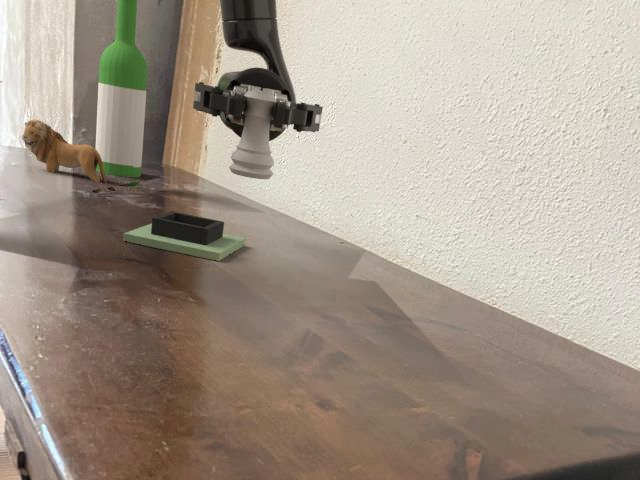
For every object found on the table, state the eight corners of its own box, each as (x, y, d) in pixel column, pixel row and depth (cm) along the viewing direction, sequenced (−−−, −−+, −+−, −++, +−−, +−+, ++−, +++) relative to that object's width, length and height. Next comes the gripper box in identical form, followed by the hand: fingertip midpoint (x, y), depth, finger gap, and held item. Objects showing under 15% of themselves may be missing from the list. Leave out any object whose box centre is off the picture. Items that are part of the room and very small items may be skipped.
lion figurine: (16, 179, 116) (16, 117, 112) (29, 176, 120) (30, 116, 117) (110, 196, 116) (113, 135, 112) (120, 192, 121) (123, 134, 117)
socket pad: (123, 241, 90) (124, 216, 89) (159, 227, 101) (160, 205, 99) (218, 261, 89) (221, 236, 88) (244, 245, 100) (247, 223, 98)
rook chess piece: (270, 175, 76) (282, 91, 73) (275, 182, 72) (288, 93, 69) (226, 168, 75) (236, 82, 72) (229, 174, 71) (240, 84, 68)
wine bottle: (86, 176, 130) (94, -20, 118) (128, 180, 135) (140, -8, 122) (104, 185, 125) (115, -19, 112) (147, 189, 129) (162, -7, 117)
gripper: (198, 55, 81) (186, 52, 66) (324, 80, 84) (341, 82, 68) (191, 128, 85) (178, 141, 69) (313, 150, 87) (327, 167, 71)
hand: (259, 112), depth 69 cm, fingers closed on rook chess piece, 3 cm apart
